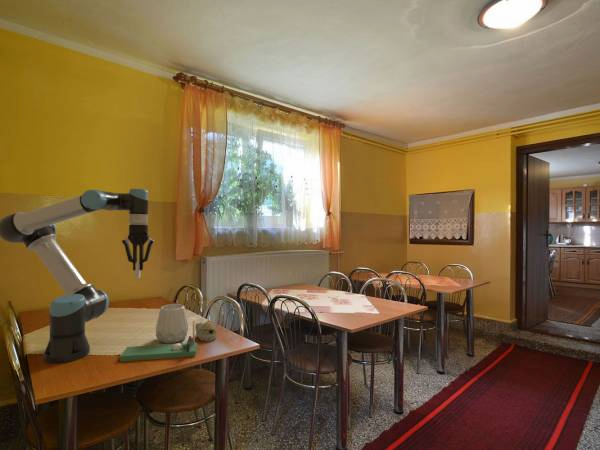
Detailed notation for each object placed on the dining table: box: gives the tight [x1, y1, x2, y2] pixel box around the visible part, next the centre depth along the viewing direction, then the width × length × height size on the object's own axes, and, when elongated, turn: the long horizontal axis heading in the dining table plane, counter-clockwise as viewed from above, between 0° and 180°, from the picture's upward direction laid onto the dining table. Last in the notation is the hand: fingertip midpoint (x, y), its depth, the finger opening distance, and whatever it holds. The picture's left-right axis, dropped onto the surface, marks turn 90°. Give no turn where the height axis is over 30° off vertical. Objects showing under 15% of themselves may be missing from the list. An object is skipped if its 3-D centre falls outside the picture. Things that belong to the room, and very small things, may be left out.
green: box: [119, 320, 198, 362], centre depth 138 cm, size 28×10×12 cm, turn 103°
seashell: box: [195, 321, 217, 343], centre depth 158 cm, size 10×10×10 cm
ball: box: [172, 342, 182, 351], centre depth 139 cm, size 4×4×4 cm
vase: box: [155, 303, 189, 344], centre depth 155 cm, size 14×14×15 cm
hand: (137, 277), depth 148 cm, fingers closed
